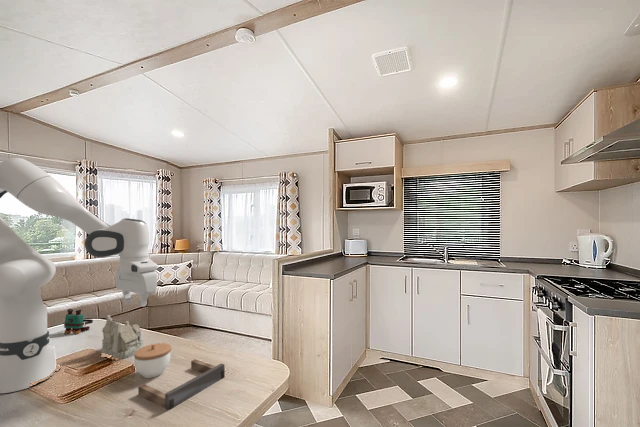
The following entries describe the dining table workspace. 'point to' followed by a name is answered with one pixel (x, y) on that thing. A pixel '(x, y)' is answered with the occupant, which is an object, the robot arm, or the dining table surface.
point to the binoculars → (75, 322)
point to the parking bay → (185, 386)
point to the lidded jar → (152, 359)
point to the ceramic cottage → (121, 339)
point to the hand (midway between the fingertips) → (135, 304)
